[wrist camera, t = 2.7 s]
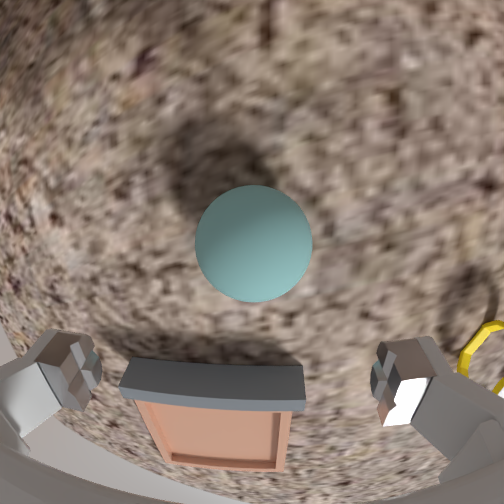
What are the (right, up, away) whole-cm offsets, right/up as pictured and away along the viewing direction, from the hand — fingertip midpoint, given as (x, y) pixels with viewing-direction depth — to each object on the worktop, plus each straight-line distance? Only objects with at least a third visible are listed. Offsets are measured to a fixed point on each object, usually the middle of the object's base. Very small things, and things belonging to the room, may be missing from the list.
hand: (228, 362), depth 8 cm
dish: (-2, -13, +16) cm, 21 cm away
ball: (+1, +4, +8) cm, 9 cm away
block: (-2, -5, +12) cm, 14 cm away
